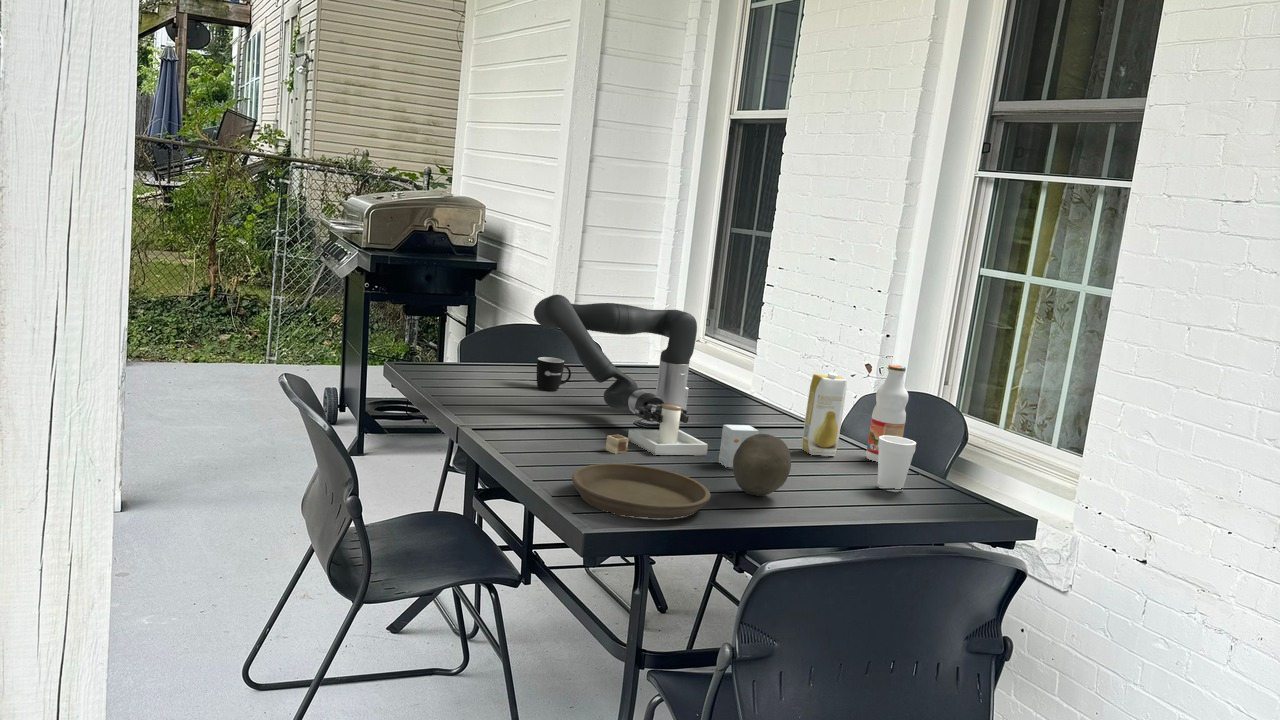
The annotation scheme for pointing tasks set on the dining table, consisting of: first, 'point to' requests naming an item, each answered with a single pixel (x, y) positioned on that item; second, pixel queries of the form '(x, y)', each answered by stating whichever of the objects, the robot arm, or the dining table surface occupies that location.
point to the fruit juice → (888, 410)
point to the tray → (683, 446)
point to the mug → (550, 373)
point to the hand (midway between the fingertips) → (674, 419)
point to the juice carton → (824, 414)
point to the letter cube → (617, 444)
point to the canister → (669, 423)
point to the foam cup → (894, 460)
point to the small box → (733, 441)
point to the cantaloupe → (761, 464)
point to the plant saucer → (639, 490)
